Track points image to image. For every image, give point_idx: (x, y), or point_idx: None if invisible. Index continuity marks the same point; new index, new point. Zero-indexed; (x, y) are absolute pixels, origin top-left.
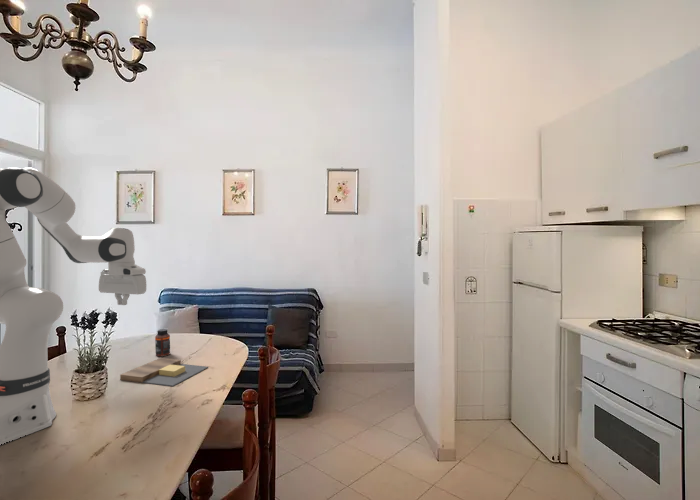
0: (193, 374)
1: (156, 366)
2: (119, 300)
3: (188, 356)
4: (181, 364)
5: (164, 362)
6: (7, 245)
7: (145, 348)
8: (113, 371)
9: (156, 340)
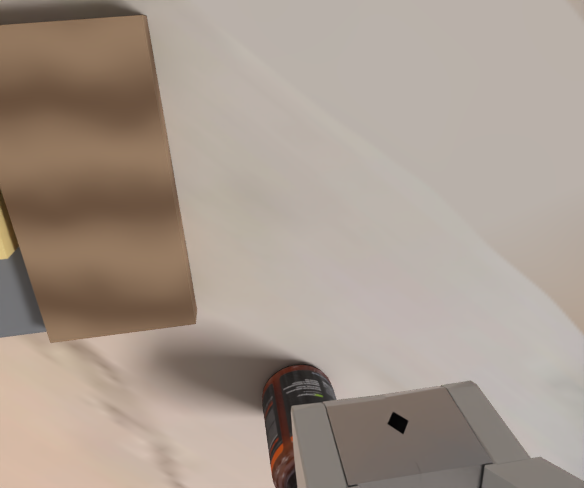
0: None
1: (72, 212)
2: (476, 481)
3: (146, 423)
4: (41, 323)
5: (97, 279)
6: None
7: None
8: (322, 111)
9: None
